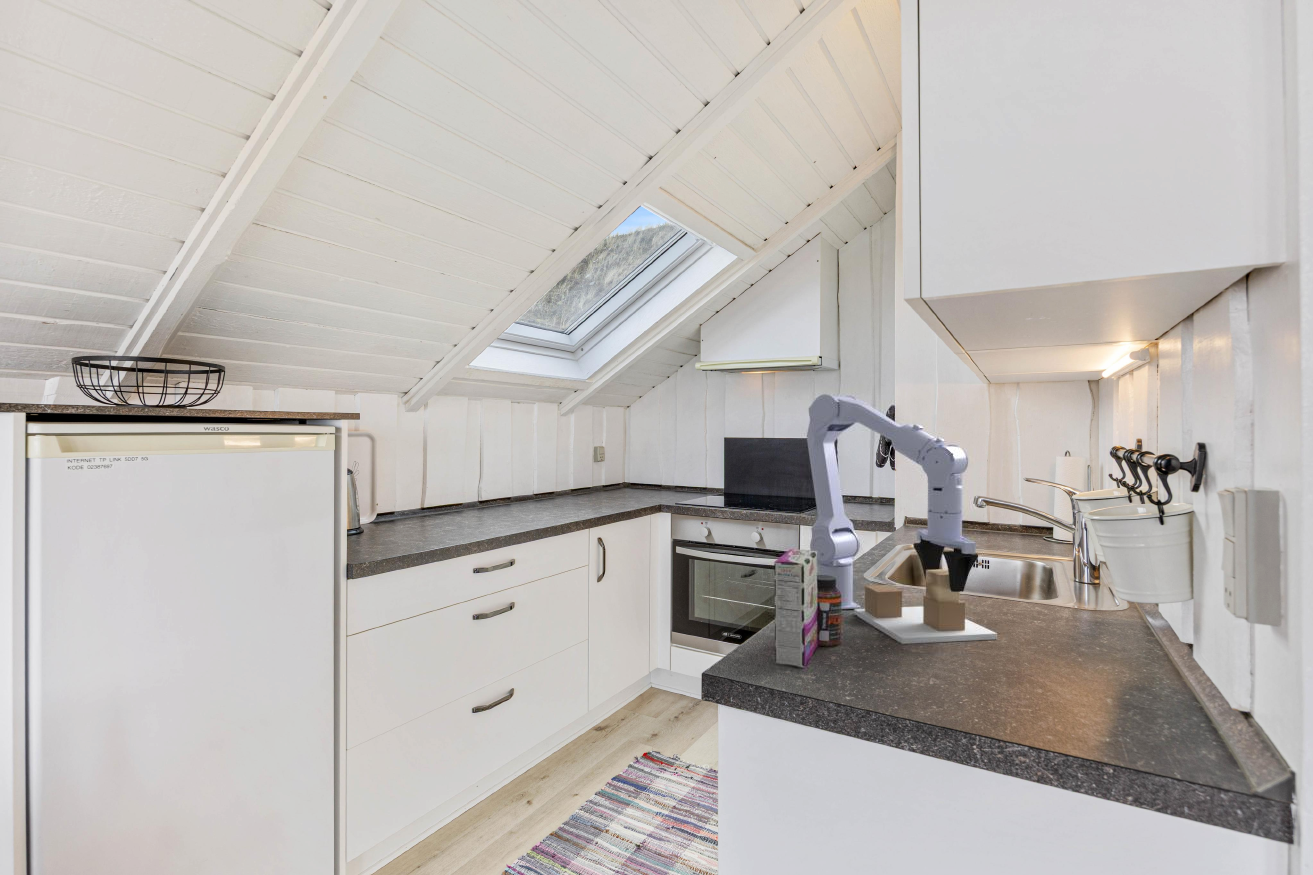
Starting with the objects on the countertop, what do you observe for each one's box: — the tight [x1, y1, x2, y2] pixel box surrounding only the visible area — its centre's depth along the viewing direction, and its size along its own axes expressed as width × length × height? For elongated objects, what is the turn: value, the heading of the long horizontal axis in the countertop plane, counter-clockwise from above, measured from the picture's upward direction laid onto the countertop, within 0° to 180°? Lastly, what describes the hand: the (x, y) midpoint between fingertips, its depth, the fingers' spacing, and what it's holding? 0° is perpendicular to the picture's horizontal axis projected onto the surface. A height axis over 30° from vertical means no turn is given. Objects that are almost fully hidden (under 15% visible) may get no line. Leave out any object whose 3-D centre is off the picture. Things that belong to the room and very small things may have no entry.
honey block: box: [925, 568, 960, 603], centre depth 116 cm, size 4×4×5 cm
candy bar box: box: [773, 548, 819, 669], centre depth 104 cm, size 11×5×16 cm, turn 155°
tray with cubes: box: [853, 584, 998, 645], centre depth 120 cm, size 18×18×6 cm
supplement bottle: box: [817, 575, 842, 647], centre depth 111 cm, size 6×6×11 cm
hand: (944, 586), depth 116 cm, fingers open, 7 cm apart
